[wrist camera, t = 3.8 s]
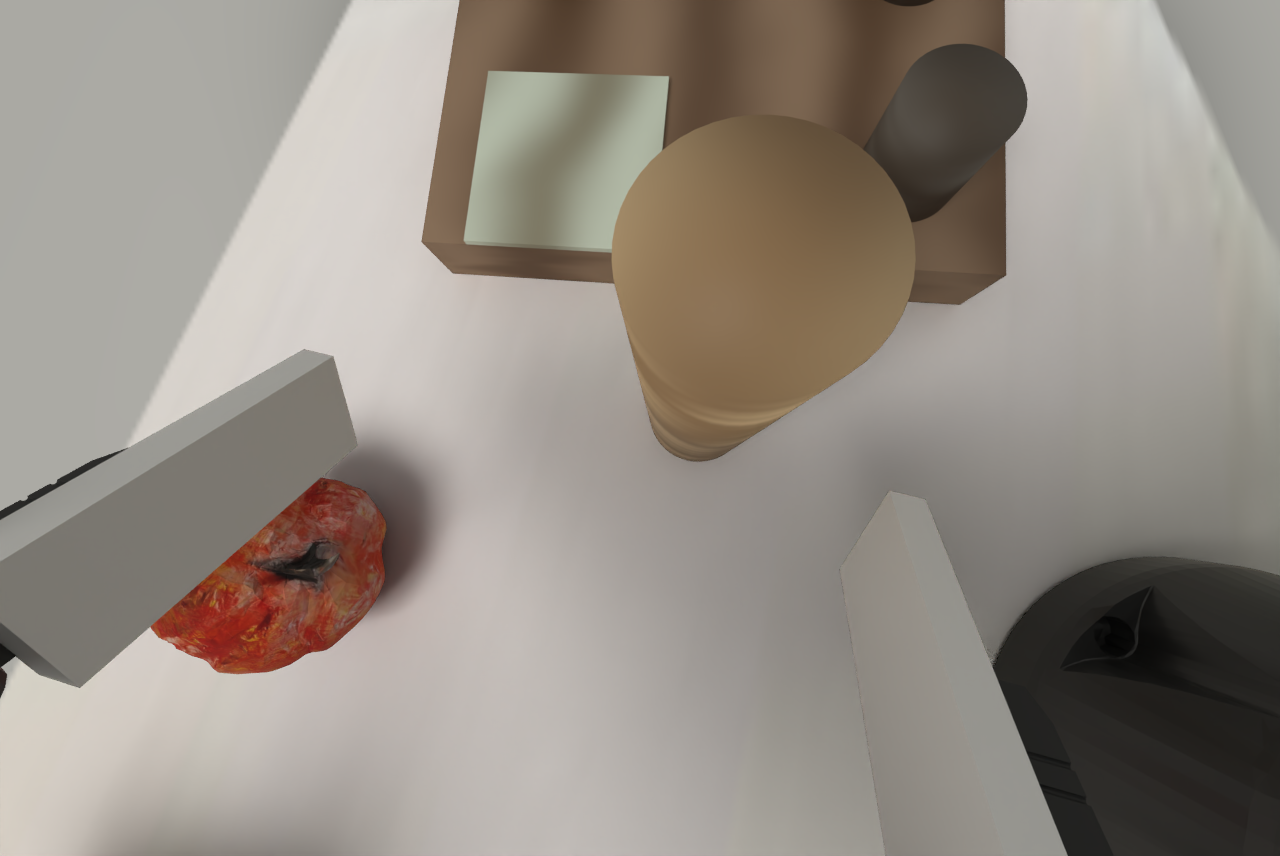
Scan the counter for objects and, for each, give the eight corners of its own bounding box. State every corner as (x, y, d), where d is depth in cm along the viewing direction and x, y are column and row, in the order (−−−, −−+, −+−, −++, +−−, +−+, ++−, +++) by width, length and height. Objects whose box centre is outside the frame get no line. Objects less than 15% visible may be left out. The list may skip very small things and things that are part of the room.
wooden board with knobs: (962, -37, 24) (1081, -251, 17) (959, 304, 22) (1096, 217, 15) (499, -43, 26) (437, -240, 19) (452, 273, 23) (362, 182, 17)
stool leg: (749, 370, 22) (918, 119, 7) (743, 465, 21) (912, 409, 7) (654, 363, 22) (625, 109, 7) (645, 457, 22) (597, 385, 7)
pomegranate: (316, 632, 24) (402, 699, 17) (104, 641, 19) (112, 740, 12) (358, 486, 26) (450, 495, 19) (175, 455, 20) (215, 453, 14)
